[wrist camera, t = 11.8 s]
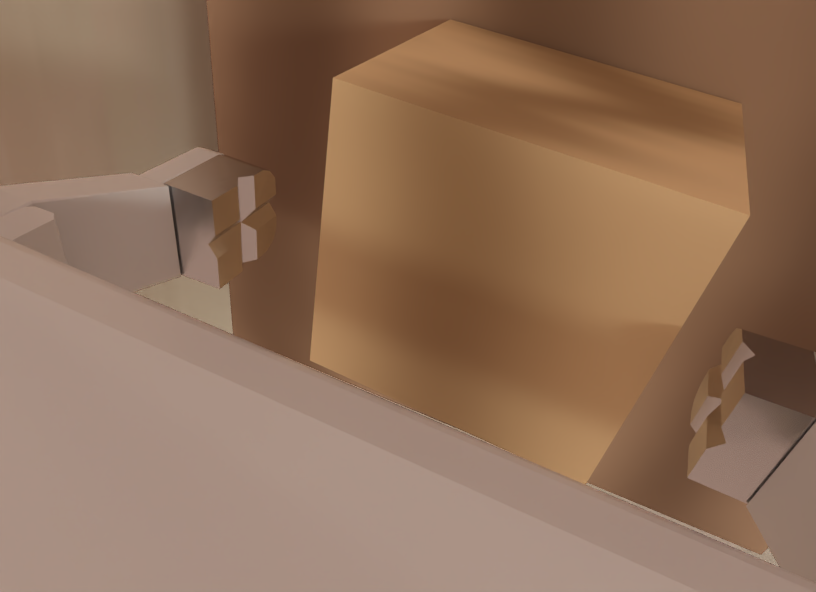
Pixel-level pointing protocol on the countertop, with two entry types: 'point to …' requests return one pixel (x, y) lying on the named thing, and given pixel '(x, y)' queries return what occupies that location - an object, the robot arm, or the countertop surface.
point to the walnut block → (588, 38)
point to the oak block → (518, 235)
